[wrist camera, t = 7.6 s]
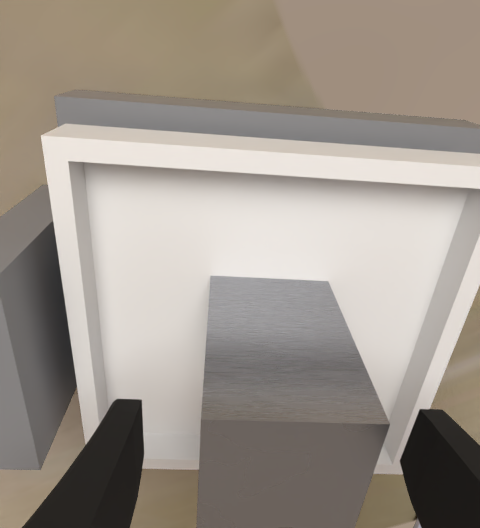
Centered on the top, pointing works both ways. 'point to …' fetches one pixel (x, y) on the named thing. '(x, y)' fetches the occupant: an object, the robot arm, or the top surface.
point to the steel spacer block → (284, 409)
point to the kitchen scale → (226, 255)
